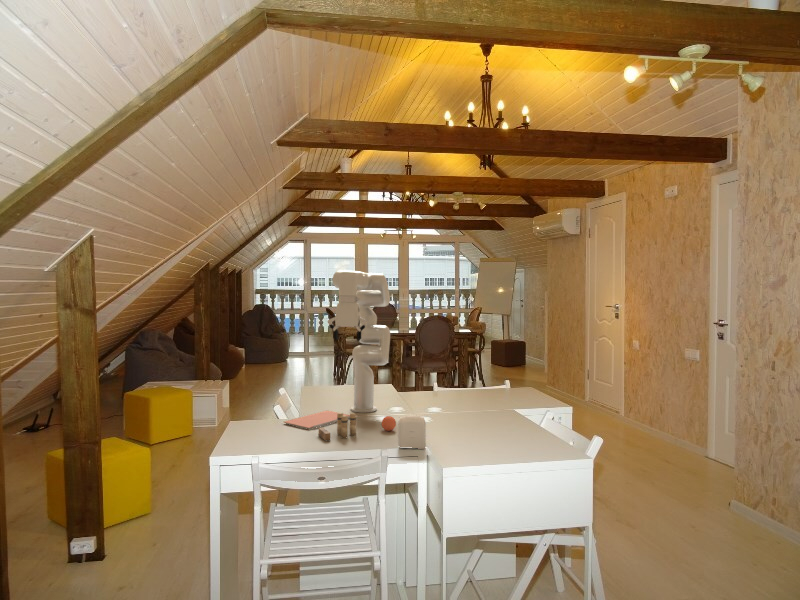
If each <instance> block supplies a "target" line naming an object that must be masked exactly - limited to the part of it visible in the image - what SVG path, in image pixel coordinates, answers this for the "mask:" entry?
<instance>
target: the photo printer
mask: <svg viewBox="0 0 800 600" xmlns="http://www.w3.org/2000/svg"><path fill="white" fill-rule="evenodd" d="M426 425H427V424H426V420H425V417H424V416H421V415H418V414H416V415H415V414H407V415H403V416H400V417H399V420H398V426H397V427H398V428H397V431H398V432H397V433H398V435H397V436H398V440H397V443H398V444H397V445H398V446H400V447H412V448H418V449H417V450H424V449H426V448H425V447H426V446H427V445H426V440H427V439H426V437H427V435H426V434H427V433H426V432H427V431H426V430H427V429H426V427H427V426H426Z"/></svg>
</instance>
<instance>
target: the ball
mask: <svg viewBox="0 0 800 600" xmlns="http://www.w3.org/2000/svg"><path fill="white" fill-rule="evenodd" d="M396 423H397V421H396V419H395V418H394V417H393V416H390V415H387V416H385V417H383V418H382V420H381V426H382V428H383V430H385V431H386V432H390V431H393V430H394V429H395V428H396V426H397V424H396Z"/></svg>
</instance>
